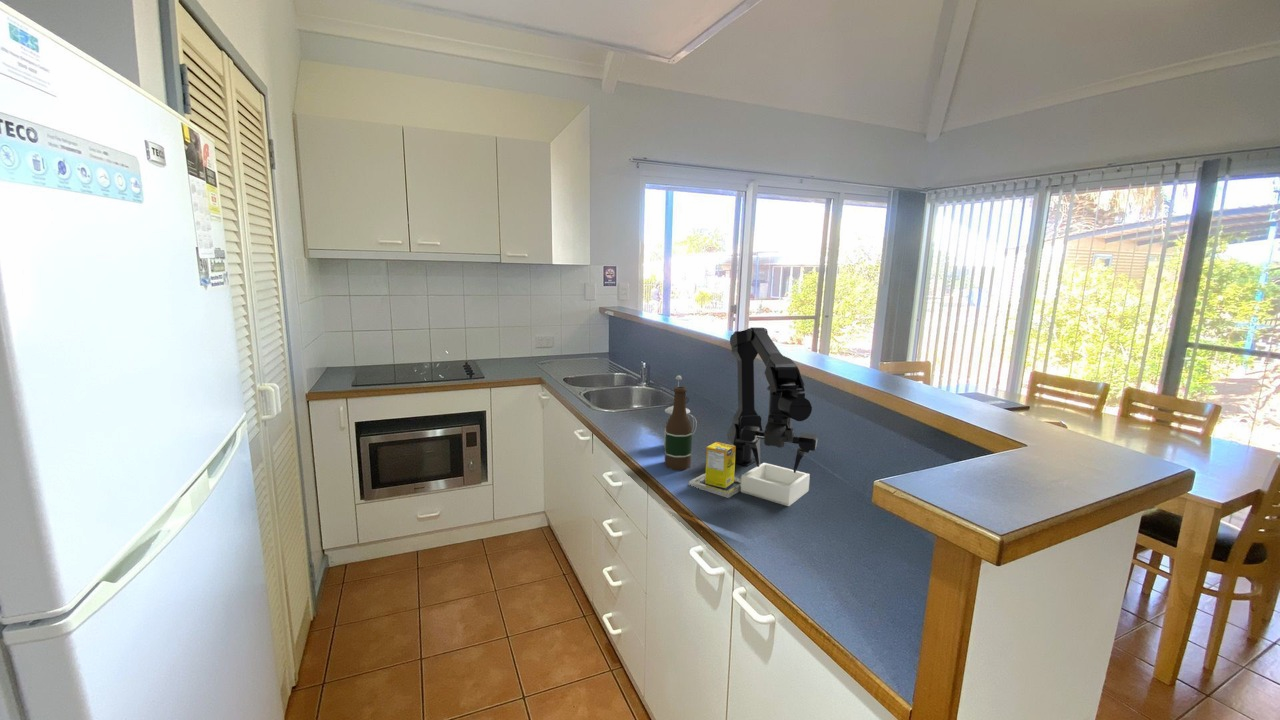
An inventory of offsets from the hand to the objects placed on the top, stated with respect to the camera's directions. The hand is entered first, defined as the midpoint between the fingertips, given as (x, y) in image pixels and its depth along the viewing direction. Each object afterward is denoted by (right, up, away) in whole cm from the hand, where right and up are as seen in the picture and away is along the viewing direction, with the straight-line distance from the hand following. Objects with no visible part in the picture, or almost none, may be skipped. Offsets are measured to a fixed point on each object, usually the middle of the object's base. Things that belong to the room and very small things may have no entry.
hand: (776, 469), depth 132 cm
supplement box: (-14, -5, +4) cm, 16 cm away
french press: (-23, -1, +31) cm, 39 cm away
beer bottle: (-25, -3, +17) cm, 30 cm away
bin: (0, -6, +1) cm, 6 cm away
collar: (-14, -5, +4) cm, 16 cm away
